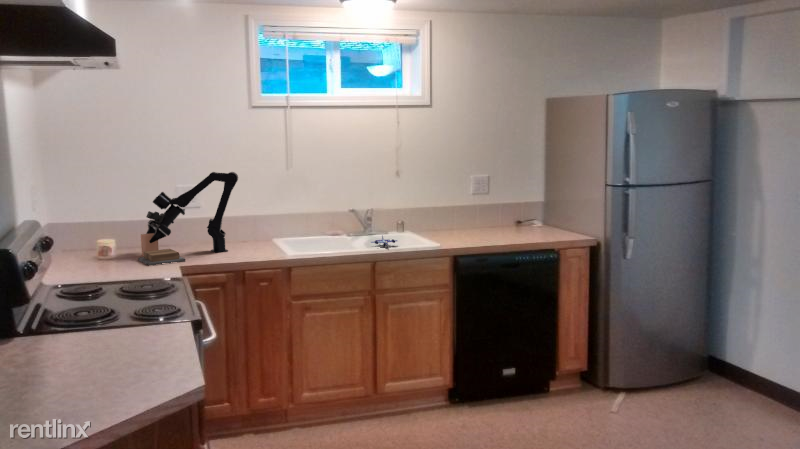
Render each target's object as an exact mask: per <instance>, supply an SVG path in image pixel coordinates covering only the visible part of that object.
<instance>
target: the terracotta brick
mask: <svg viewBox="0 0 800 449" xmlns="http://www.w3.org/2000/svg"><path fill="white" fill-rule="evenodd" d="M153 235H154V233H150V234H146V233H142V234H140V246H141V255H142V256H141V257H144V252H145V251H154V250H160V248H159V240H157V241H155V242H153V243H150V242H149V241H150V239H151V238H152V236H153Z"/></svg>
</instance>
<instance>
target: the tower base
mask: <svg viewBox="0 0 800 449" xmlns="http://www.w3.org/2000/svg"><path fill="white" fill-rule="evenodd" d="M137 259H138V261H139V262H141V263H144V264H145V265H147V264H148V265H147V266H149V265H153V266H157V265H156V264H161V265H163V264H162V263H169V264H172V263H171V262H177V263H183V262H186V258H184V257H182V256H180V252H179V251H177V250H173V249H171V248H165V249H159V250H154V251H145V252H144V256H140V257H137Z"/></svg>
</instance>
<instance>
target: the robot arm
mask: <svg viewBox="0 0 800 449" xmlns="http://www.w3.org/2000/svg"><path fill="white" fill-rule="evenodd" d="M238 180H239V175H238V174H237V173H236V172H235V171H229V172H228V173H226V172H217V171H212V172H210V173H209V174H208V175H207V176H206V177H205V178H203V179H202V180H201V181H200V182H198V184H196V185H195V186H194V187H192V188H191V189H188V191H186V192H184V193H182V194H180V195H178V197H172V198H171V197H169V196H168V195H167V194H166V192H164V191H161V192H160V193H159V194H158V195H157V196H155V198H154V199H153V201H152V203H153V204H154V205H155V206H157V207H158V208H159V209H160V210H165V211H164V212H163V213H160V212H157V211H154V212H152V211H147V214H146V216H145V217H146V218H147V219H150V220H148V222H147V228H148V229H147V231H146V232H145V234H150V233H154V235H153V236H152V238H151V239H150V241H149V242H150V243H153V242H155V241H157V240H158V241H159V240H161V239H163V238H166V237H168V236H170V235H171V234H172V230H171V229H170V226H171V225H172V224H174V223H175V220H176V219H177V218H178V216H180V214H181V215H182V216H185V214H186V212H185V211H186V207H187V206H188V205H190V203H191V202H192V201H193V199H194V198H195V197H196V196H197V195H198V194H199V193H201V192H202V191H203V190H204V189H206V188H207V187H209V185H211V184H212V183H213V182H222V183H223V191H222V193H221V195H220V196H221V197H220V199H219V202H218V205H217V209H216V211H215V214H214V216H213V218H210V219H209V221H208V226H207V227H206V229H207V234H208V235H209V236H211V238H212V246H213V247H212V249H210V251H211V252H213V253H223V252H229V250H228V249H226V238H225V237H226V235H227V234H226V232H225V231H224V230H223V229H222V225H223V217H224V214H225V211H226V210H227V209H226V208H227V206H228V203H229V199H230V198H231V194H232V191H233V189H234V188H235V186H236V184H237V183H238Z"/></svg>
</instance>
